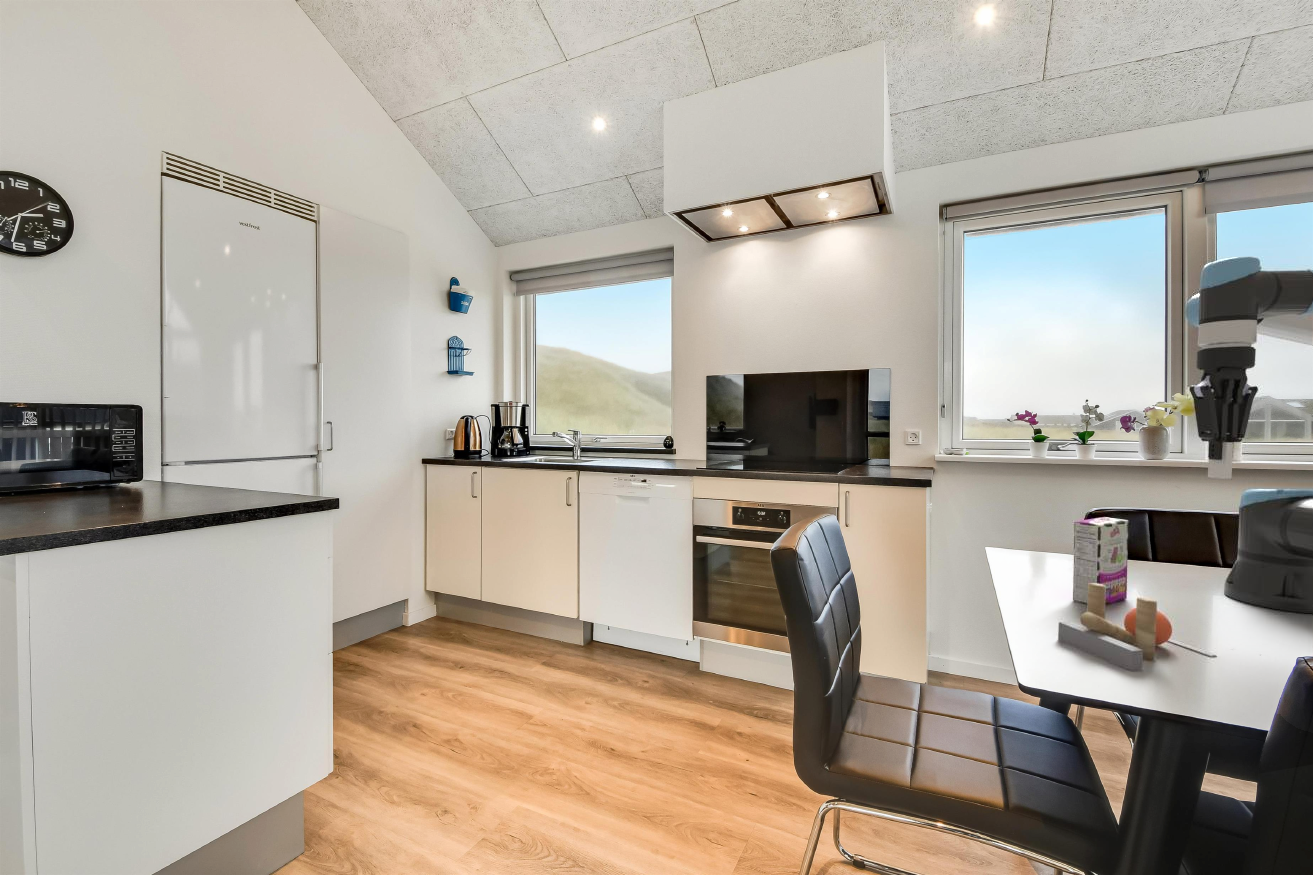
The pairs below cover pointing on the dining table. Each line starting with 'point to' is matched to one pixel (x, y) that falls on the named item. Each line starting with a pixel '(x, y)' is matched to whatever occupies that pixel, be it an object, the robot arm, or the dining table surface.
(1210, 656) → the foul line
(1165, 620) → the ball
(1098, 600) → the back pin right
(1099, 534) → the candy bar box
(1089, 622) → the front pin
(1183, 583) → the dining table surface
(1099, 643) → the rail
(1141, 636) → the back pin left
